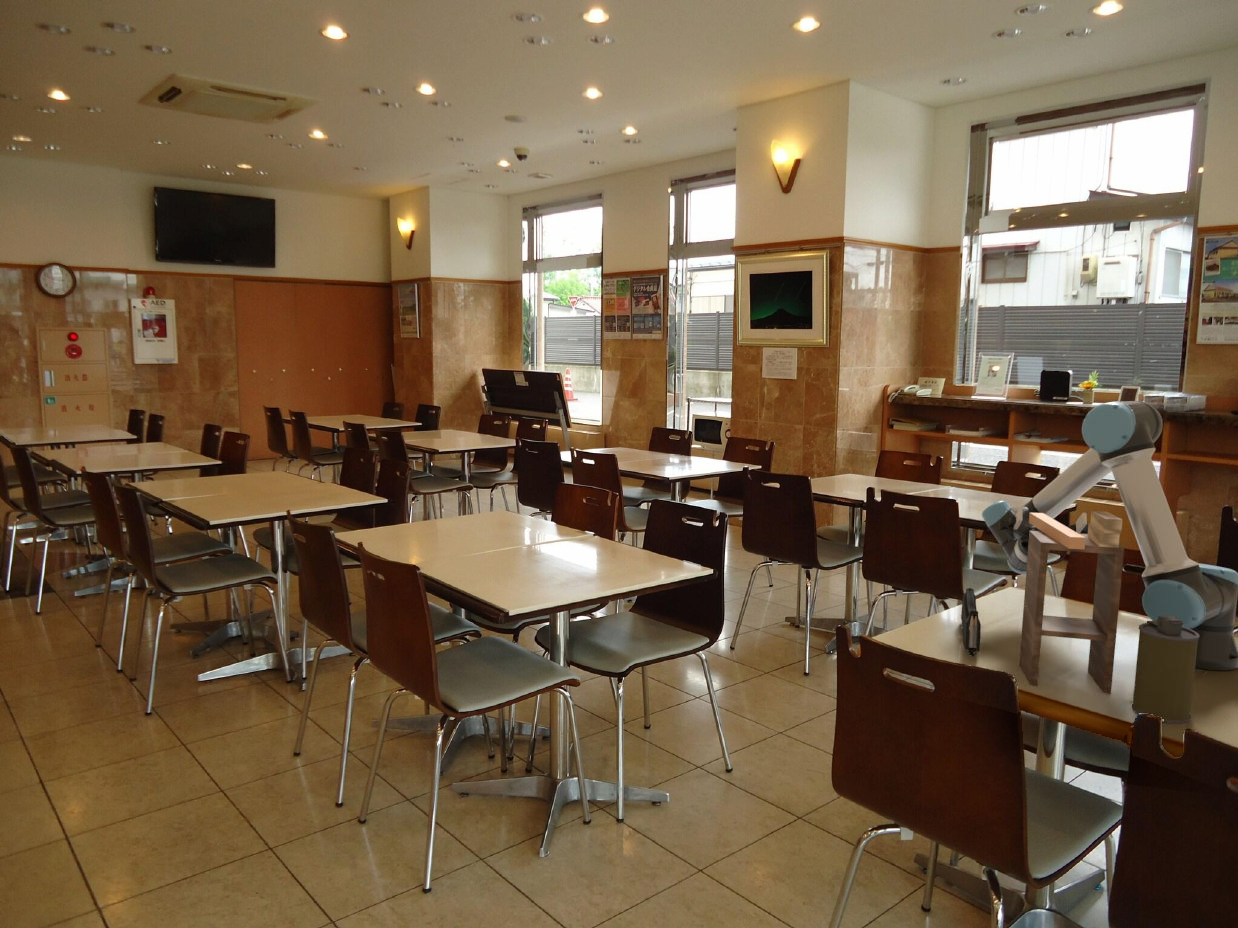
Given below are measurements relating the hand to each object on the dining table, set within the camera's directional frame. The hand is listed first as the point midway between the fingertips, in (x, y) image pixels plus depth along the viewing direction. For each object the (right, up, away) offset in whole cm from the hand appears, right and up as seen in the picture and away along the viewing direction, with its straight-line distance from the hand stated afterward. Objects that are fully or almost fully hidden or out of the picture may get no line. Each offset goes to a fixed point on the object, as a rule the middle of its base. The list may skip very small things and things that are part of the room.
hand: (1052, 516), depth 204 cm
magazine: (-12, -33, +19) cm, 40 cm away
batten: (-3, -4, -7) cm, 8 cm away
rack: (-1, -36, -6) cm, 37 cm away
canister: (+10, -39, -24) cm, 47 cm away
